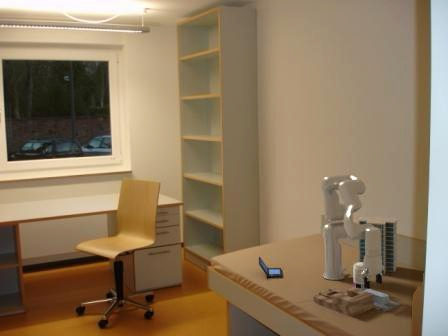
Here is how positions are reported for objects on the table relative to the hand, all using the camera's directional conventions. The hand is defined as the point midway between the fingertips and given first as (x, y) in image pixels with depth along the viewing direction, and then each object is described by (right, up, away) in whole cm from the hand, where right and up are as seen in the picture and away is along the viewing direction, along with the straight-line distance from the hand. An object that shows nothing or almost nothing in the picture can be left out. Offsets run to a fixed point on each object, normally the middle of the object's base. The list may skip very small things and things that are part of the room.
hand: (373, 285), depth 240 cm
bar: (+1, -7, 0) cm, 7 cm away
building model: (+18, -2, +48) cm, 52 cm away
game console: (-47, -5, +48) cm, 67 cm away
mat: (+2, -8, -1) cm, 9 cm away
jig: (-15, -9, -2) cm, 18 cm away
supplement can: (-2, -7, +14) cm, 16 cm away
